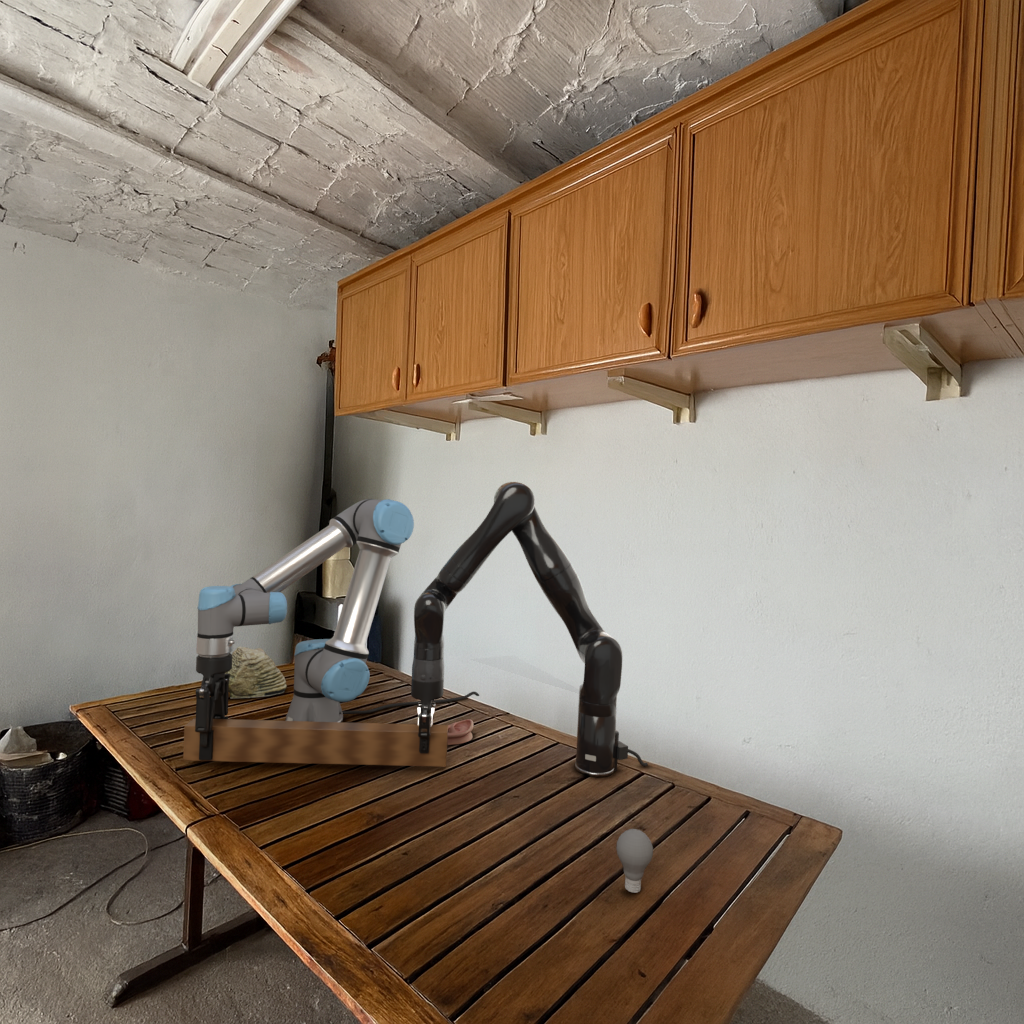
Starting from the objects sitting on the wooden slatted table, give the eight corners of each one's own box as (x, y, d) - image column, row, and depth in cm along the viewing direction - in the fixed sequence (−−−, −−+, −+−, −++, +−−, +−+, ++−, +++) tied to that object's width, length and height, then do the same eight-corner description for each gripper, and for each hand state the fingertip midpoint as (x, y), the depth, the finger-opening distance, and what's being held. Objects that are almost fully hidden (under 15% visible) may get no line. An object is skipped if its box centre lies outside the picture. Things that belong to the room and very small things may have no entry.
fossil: (218, 695, 195) (220, 647, 195) (278, 685, 208) (279, 640, 207) (228, 703, 189) (230, 653, 188) (289, 692, 201) (290, 645, 201)
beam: (182, 760, 143) (184, 725, 143) (192, 751, 148) (194, 718, 148) (445, 766, 147) (447, 732, 147) (446, 757, 152) (448, 725, 152)
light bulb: (610, 879, 108) (613, 822, 108) (644, 879, 109) (647, 822, 109) (619, 902, 102) (622, 840, 102) (655, 901, 103) (658, 840, 103)
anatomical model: (416, 727, 165) (431, 713, 176) (416, 742, 165) (430, 727, 176) (465, 733, 162) (477, 718, 174) (465, 748, 162) (476, 732, 174)
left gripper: (215, 664, 137) (211, 771, 137) (245, 645, 155) (241, 739, 155) (179, 663, 137) (175, 770, 137) (214, 644, 155) (210, 739, 155)
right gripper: (442, 685, 142) (439, 760, 142) (445, 668, 156) (442, 736, 156) (408, 684, 141) (405, 760, 142) (414, 667, 156) (412, 736, 156)
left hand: (210, 754), depth 146 cm, fingers closed on beam, 5 cm apart
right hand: (425, 747), depth 149 cm, fingers closed on beam, 5 cm apart
